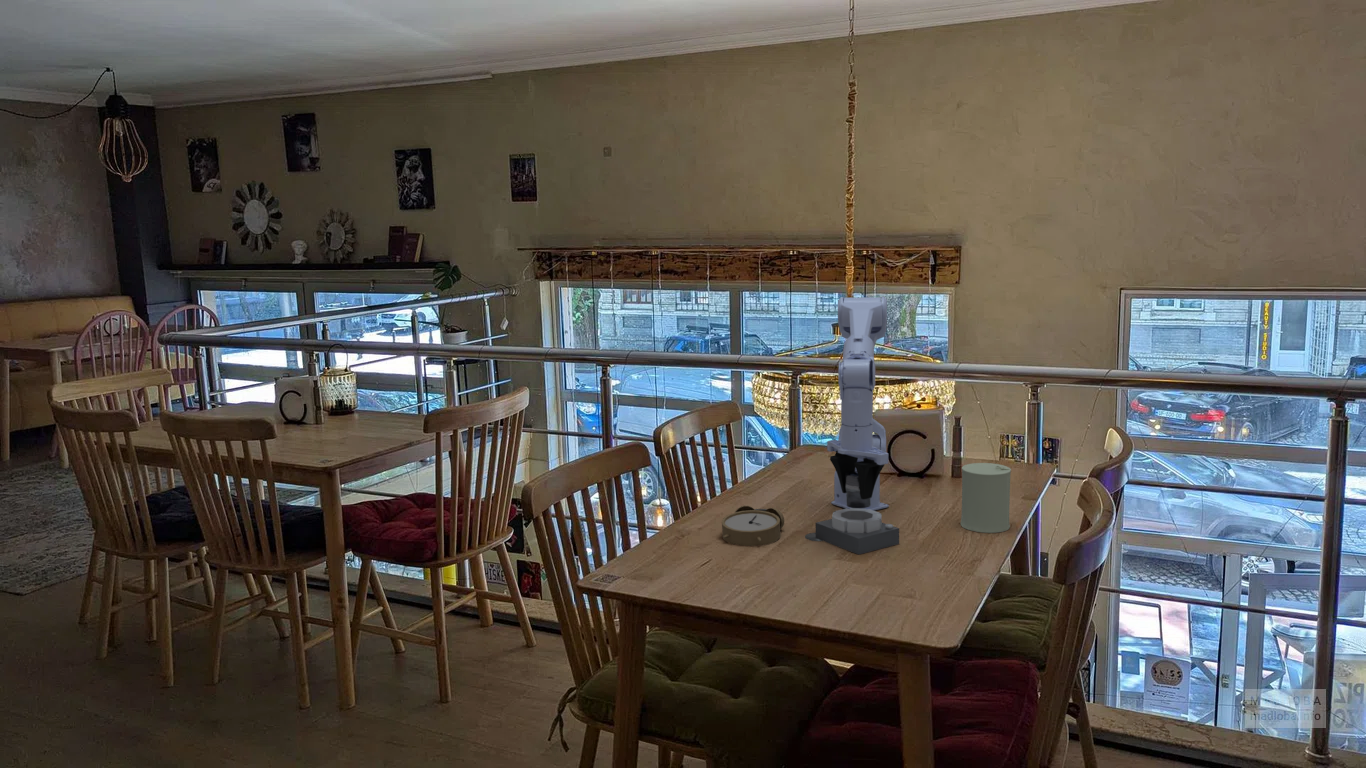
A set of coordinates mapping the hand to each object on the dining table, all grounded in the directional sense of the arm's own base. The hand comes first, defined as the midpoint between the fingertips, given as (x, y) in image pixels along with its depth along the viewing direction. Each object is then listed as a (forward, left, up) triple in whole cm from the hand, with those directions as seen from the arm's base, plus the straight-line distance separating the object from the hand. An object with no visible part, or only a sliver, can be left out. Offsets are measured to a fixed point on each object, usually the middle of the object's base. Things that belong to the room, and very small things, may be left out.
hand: (856, 495), depth 181 cm
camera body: (0, 0, -9) cm, 9 cm away
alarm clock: (-15, -13, -9) cm, 22 cm away
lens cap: (-6, -4, -10) cm, 12 cm away
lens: (0, 0, -2) cm, 2 cm away
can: (+8, +26, -9) cm, 29 cm away
